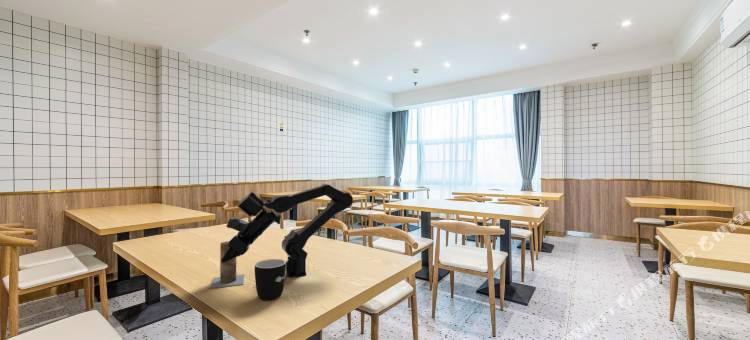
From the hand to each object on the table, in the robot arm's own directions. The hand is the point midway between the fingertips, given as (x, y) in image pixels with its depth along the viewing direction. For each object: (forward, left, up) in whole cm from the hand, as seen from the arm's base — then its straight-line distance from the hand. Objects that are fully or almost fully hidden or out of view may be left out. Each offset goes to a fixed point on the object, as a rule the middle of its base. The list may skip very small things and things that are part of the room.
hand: (225, 257), depth 105 cm
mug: (-15, +17, -8) cm, 24 cm away
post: (-1, 0, -8) cm, 8 cm away
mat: (-1, 0, -8) cm, 8 cm away
